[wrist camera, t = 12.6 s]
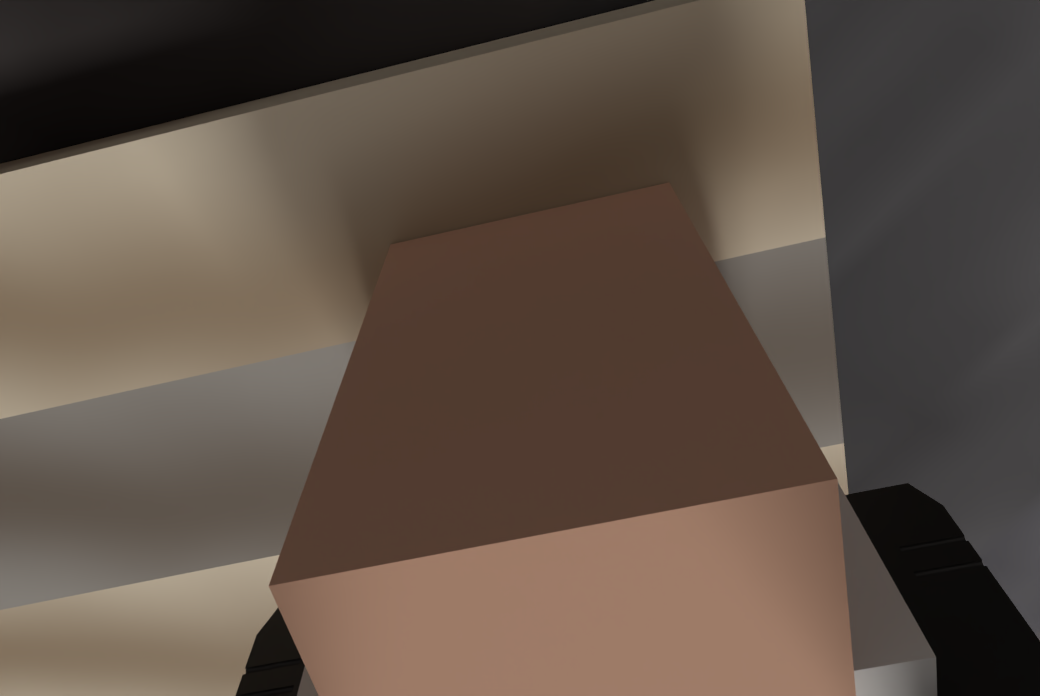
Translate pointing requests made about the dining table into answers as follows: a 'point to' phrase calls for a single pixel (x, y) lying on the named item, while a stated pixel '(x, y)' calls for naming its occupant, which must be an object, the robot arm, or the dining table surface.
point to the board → (337, 301)
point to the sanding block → (566, 478)
